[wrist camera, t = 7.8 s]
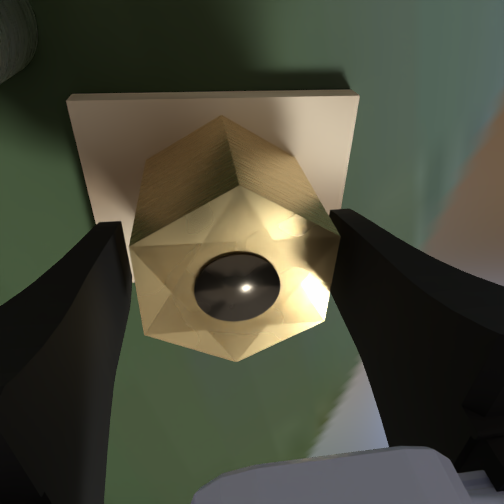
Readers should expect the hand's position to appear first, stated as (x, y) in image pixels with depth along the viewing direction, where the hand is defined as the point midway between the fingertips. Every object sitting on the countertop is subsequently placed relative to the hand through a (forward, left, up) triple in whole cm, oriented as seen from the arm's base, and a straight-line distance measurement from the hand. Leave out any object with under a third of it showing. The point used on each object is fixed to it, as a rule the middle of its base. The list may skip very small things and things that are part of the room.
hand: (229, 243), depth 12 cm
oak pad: (0, 0, -4) cm, 4 cm away
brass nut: (0, 0, -3) cm, 3 cm away
